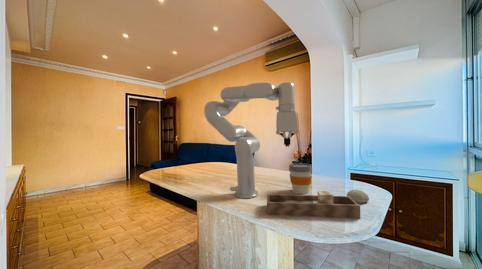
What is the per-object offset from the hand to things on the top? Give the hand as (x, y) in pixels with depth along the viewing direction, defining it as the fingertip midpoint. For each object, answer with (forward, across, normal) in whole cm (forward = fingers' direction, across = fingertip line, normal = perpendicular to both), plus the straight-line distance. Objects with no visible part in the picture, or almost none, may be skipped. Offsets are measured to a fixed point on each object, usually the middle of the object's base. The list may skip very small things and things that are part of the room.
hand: (287, 146), depth 97 cm
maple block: (+24, +14, -11) cm, 30 cm away
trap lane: (+27, +8, -11) cm, 30 cm away
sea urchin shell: (+28, +33, +4) cm, 43 cm away
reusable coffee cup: (+27, +8, +16) cm, 33 cm away
